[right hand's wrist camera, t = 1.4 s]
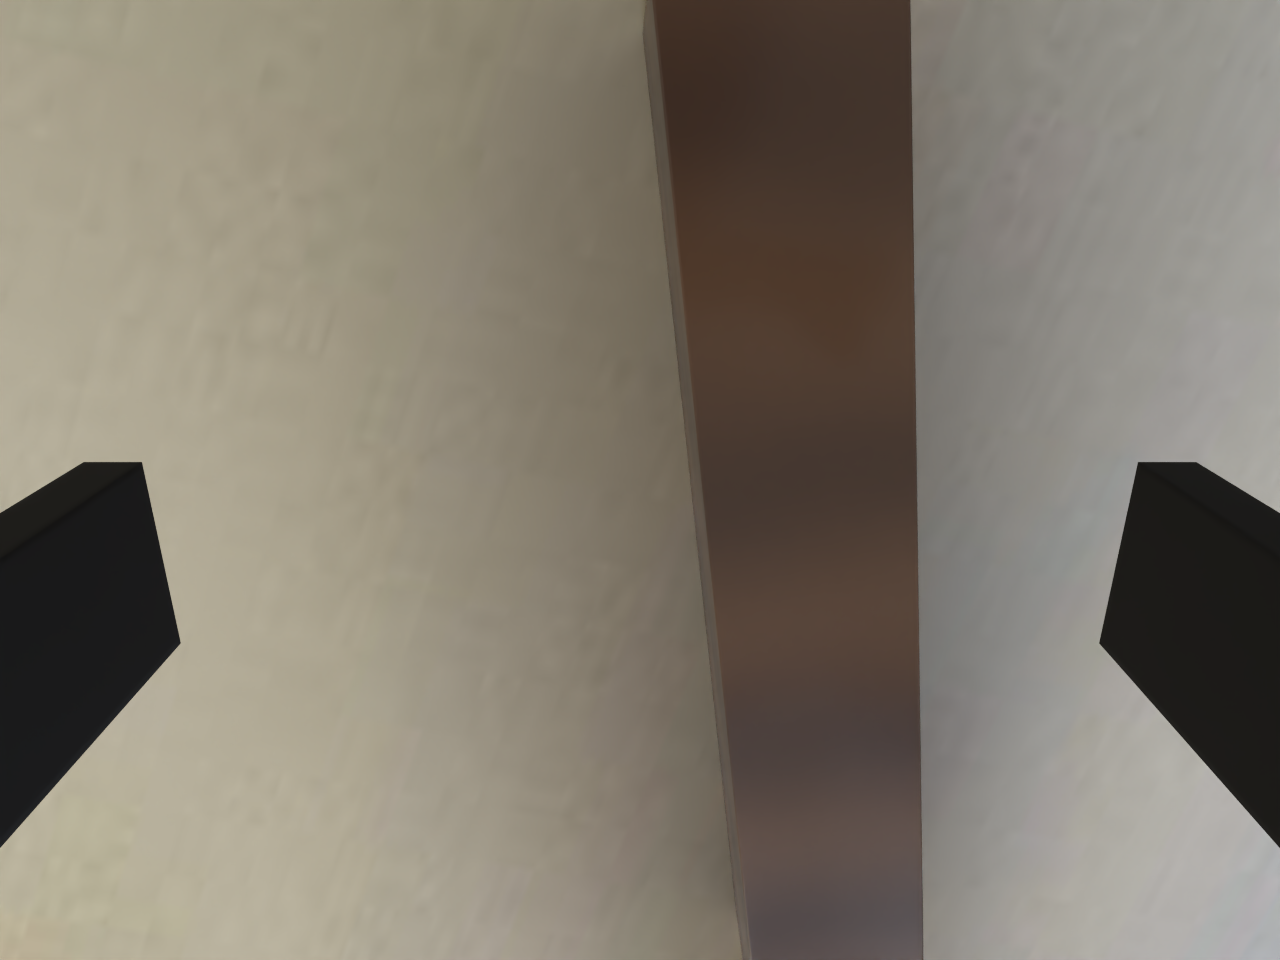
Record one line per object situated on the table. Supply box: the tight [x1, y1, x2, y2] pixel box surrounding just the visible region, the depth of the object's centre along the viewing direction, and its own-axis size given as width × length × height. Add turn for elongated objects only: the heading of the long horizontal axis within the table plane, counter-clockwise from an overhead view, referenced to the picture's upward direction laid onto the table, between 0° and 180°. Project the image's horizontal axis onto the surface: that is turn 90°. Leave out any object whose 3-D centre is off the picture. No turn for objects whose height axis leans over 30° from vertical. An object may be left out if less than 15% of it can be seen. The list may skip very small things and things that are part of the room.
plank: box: [643, 0, 923, 960], centre depth 28 cm, size 34×5×10 cm, turn 7°
